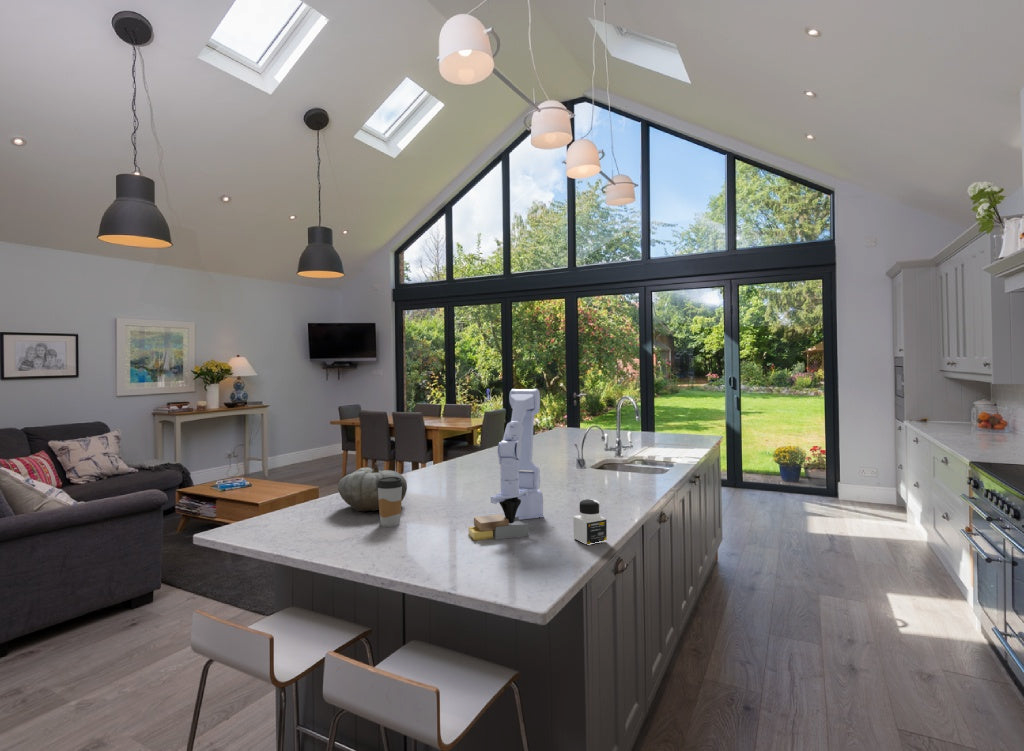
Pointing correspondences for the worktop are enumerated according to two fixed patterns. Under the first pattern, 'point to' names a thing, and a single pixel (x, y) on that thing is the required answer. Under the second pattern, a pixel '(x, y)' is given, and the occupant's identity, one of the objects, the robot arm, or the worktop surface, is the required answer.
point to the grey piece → (512, 530)
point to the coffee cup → (390, 500)
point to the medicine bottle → (590, 523)
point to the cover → (490, 522)
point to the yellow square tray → (480, 534)
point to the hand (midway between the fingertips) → (510, 522)
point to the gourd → (365, 487)
